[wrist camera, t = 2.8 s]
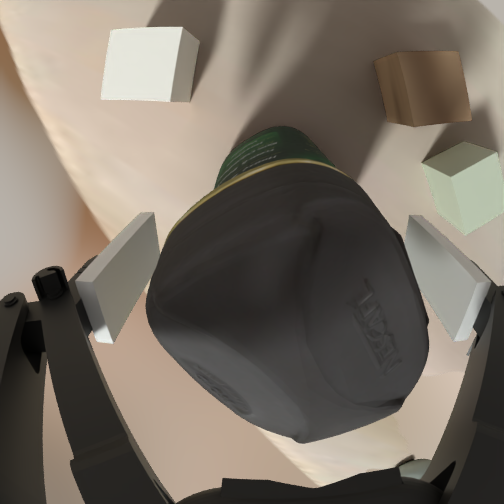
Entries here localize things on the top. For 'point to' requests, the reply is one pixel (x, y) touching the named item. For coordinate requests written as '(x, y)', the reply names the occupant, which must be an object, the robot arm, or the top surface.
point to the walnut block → (423, 88)
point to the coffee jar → (291, 294)
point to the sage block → (466, 185)
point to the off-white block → (150, 64)
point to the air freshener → (415, 468)
